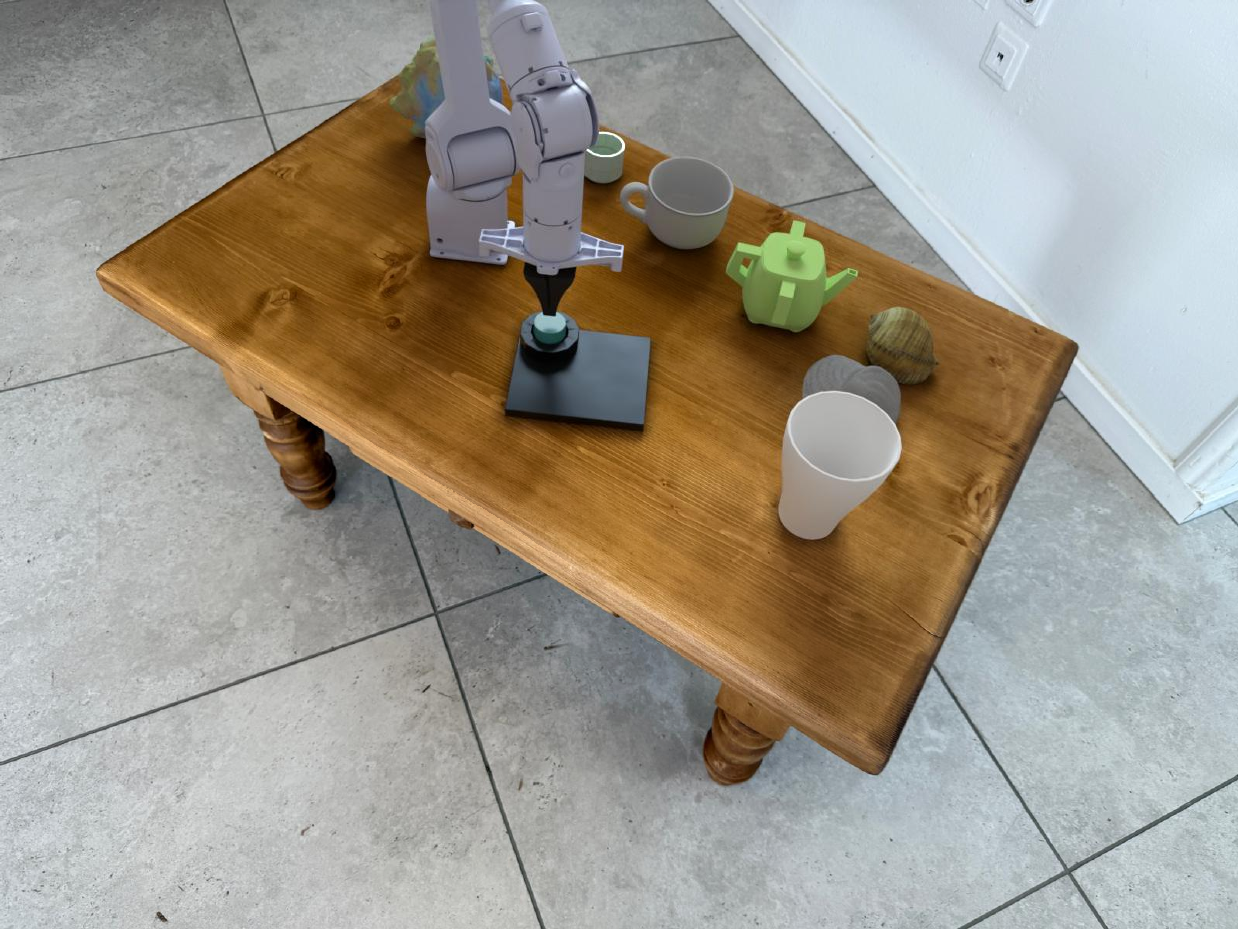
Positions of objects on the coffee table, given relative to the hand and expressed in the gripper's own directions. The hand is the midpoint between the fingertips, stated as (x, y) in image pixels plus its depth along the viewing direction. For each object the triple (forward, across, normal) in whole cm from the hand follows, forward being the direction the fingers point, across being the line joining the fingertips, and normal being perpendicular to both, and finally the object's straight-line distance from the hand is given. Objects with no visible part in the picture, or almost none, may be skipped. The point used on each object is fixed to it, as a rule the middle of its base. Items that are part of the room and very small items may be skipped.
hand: (550, 309), depth 96 cm
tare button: (+4, 0, 0) cm, 4 cm away
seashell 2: (+6, +41, +5) cm, 42 cm away
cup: (+6, +29, -19) cm, 35 cm away
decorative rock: (+6, -19, +39) cm, 44 cm away
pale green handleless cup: (+6, +3, +34) cm, 35 cm away
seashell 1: (+6, +34, -5) cm, 35 cm away
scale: (+6, +4, -4) cm, 8 cm away
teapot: (+6, +27, +11) cm, 30 cm away
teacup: (+6, +13, +23) cm, 27 cm away
